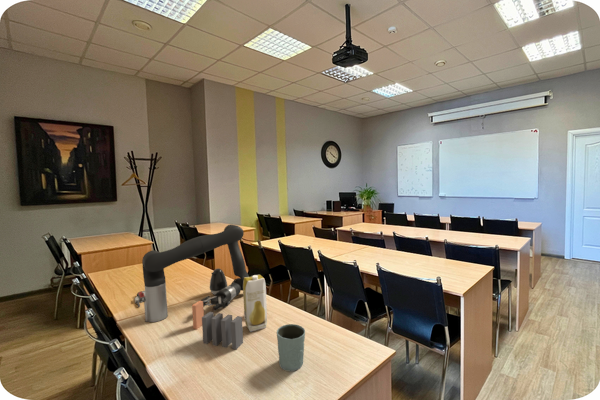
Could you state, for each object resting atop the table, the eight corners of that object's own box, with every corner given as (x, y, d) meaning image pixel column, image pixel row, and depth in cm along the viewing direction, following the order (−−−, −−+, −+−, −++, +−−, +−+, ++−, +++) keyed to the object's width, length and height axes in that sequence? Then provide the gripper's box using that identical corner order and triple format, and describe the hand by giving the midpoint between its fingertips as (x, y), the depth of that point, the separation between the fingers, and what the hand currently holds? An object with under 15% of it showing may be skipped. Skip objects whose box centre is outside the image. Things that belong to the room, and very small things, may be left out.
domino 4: (222, 346, 111) (220, 320, 111) (229, 340, 116) (228, 314, 116) (226, 347, 111) (225, 320, 110) (233, 340, 115) (232, 315, 115)
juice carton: (248, 333, 121) (246, 279, 119) (243, 325, 128) (241, 274, 126) (268, 328, 125) (266, 275, 123) (262, 320, 132) (260, 270, 130)
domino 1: (193, 328, 126) (191, 305, 126) (200, 323, 131) (199, 300, 130) (196, 329, 126) (195, 305, 125) (204, 324, 130) (202, 301, 130)
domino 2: (203, 343, 115) (201, 317, 114) (211, 336, 119) (209, 311, 119) (207, 343, 114) (205, 317, 113) (214, 337, 119) (213, 312, 118)
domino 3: (212, 345, 113) (211, 318, 112) (220, 338, 118) (218, 313, 117) (216, 345, 112) (215, 319, 112) (224, 339, 117) (222, 313, 116)
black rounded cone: (206, 295, 164) (204, 270, 163) (217, 289, 173) (216, 265, 172) (220, 298, 160) (218, 272, 159) (231, 291, 170) (229, 266, 169)
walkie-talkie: (133, 297, 166) (137, 309, 150) (132, 290, 166) (136, 301, 150) (149, 293, 171) (155, 304, 155) (149, 286, 171) (154, 296, 155)
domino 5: (232, 348, 110) (230, 321, 109) (238, 341, 115) (237, 315, 114) (236, 349, 109) (235, 322, 109) (243, 342, 114) (241, 316, 113)
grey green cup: (277, 355, 104) (276, 324, 104) (304, 353, 105) (303, 322, 105) (278, 374, 94) (276, 340, 94) (307, 371, 95) (306, 337, 95)
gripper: (214, 286, 151) (193, 298, 136) (237, 289, 146) (218, 302, 131) (215, 300, 151) (194, 313, 136) (237, 303, 147) (219, 317, 131)
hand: (206, 308), depth 134 cm, fingers open, 8 cm apart
